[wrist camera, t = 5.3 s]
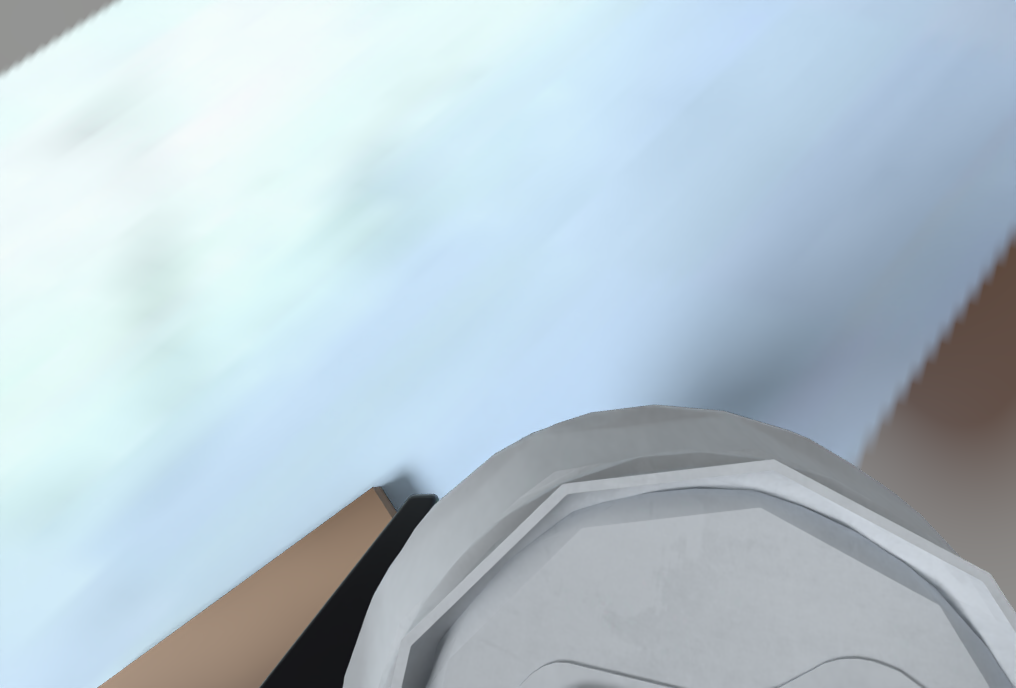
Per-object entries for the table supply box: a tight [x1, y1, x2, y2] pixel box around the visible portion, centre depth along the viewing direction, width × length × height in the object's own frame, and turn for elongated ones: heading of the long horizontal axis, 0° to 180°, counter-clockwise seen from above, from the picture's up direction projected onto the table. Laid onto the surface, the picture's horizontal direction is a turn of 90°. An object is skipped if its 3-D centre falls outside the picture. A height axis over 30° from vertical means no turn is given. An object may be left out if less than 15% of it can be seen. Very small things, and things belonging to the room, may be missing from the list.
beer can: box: [343, 405, 1016, 688], centre depth 8 cm, size 5×5×12 cm
